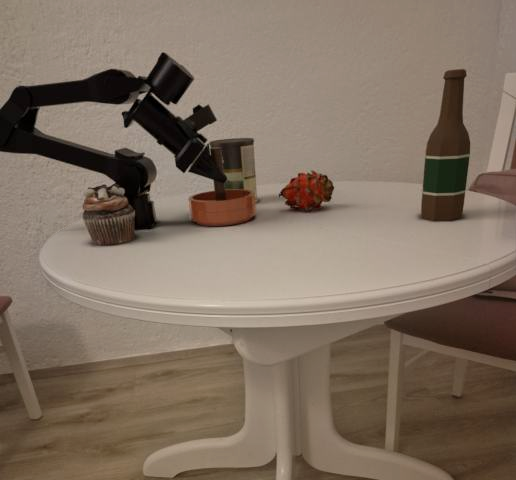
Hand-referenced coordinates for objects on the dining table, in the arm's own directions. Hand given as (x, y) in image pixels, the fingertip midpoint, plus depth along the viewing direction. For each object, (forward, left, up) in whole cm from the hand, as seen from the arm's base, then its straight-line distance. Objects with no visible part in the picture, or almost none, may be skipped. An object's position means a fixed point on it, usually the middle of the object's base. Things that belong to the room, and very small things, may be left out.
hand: (225, 180), depth 97 cm
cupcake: (-22, -9, -8) cm, 25 cm away
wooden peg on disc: (-1, 0, -7) cm, 7 cm away
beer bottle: (+40, -12, -8) cm, 42 cm away
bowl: (-1, +1, -8) cm, 8 cm away
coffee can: (+2, +19, -8) cm, 20 cm away
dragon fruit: (+17, +4, -8) cm, 19 cm away
